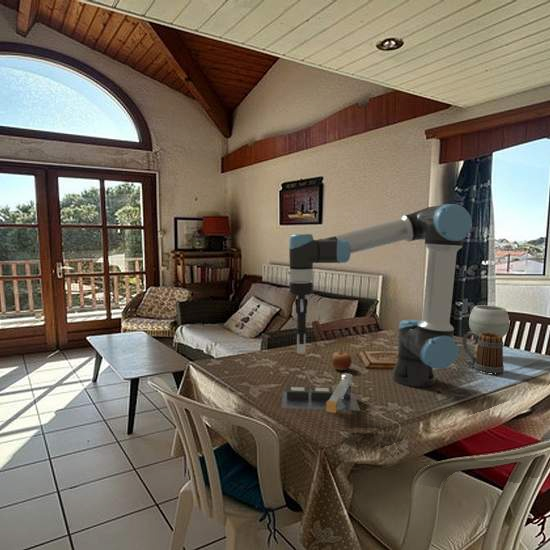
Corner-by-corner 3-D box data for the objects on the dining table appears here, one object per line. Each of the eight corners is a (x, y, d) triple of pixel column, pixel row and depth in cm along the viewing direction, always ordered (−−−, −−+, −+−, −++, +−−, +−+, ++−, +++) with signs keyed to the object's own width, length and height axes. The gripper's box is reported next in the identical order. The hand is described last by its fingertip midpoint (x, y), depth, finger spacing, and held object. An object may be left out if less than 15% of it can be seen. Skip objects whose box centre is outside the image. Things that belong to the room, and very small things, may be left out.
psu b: (307, 393, 133) (308, 386, 133) (308, 399, 128) (308, 392, 128) (287, 392, 133) (287, 385, 133) (286, 399, 128) (287, 391, 128)
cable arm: (342, 381, 132) (342, 372, 131) (353, 383, 130) (353, 374, 130) (324, 412, 109) (324, 401, 109) (337, 414, 108) (337, 403, 107)
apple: (336, 364, 166) (337, 346, 165) (354, 368, 162) (354, 349, 161) (327, 370, 160) (328, 350, 159) (345, 374, 155) (346, 354, 154)
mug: (506, 370, 161) (509, 334, 159) (499, 377, 153) (502, 339, 151) (465, 362, 171) (467, 328, 170) (457, 368, 164) (459, 332, 162)
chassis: (353, 396, 133) (354, 382, 133) (360, 414, 120) (360, 397, 120) (282, 394, 134) (282, 380, 134) (281, 412, 122) (281, 395, 121)
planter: (513, 357, 178) (517, 308, 176) (495, 363, 169) (499, 312, 167) (478, 348, 192) (481, 303, 189) (459, 354, 183) (462, 306, 180)
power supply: (331, 394, 133) (331, 386, 132) (333, 400, 128) (333, 392, 127) (310, 393, 133) (311, 386, 133) (311, 399, 128) (311, 392, 128)
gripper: (289, 279, 135) (289, 346, 137) (289, 284, 122) (290, 358, 124) (311, 279, 134) (311, 346, 137) (314, 284, 121) (314, 358, 124)
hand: (301, 352), depth 130 cm, fingers closed
